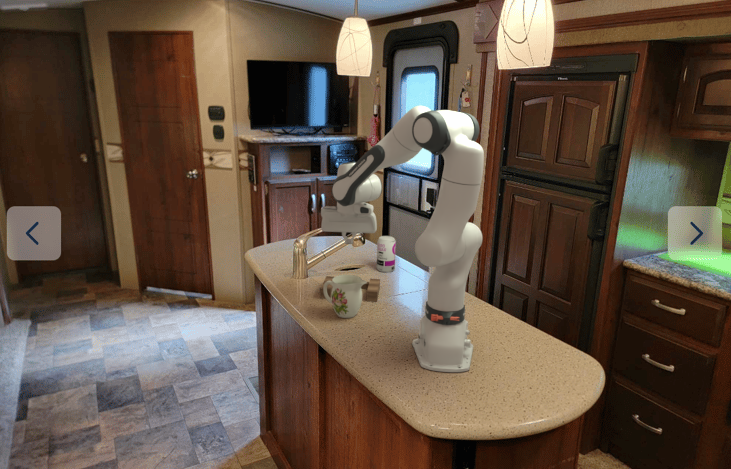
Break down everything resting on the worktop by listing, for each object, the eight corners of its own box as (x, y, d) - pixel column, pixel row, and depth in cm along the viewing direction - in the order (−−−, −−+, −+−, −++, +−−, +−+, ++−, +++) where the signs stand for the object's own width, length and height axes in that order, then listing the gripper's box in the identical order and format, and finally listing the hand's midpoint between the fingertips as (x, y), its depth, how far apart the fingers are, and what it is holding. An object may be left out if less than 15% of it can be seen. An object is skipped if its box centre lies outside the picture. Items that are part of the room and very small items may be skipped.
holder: (377, 301, 184) (377, 292, 183) (320, 298, 186) (320, 288, 185) (379, 288, 198) (380, 279, 197) (326, 285, 200) (326, 276, 199)
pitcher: (332, 302, 183) (332, 268, 179) (373, 314, 174) (374, 278, 170) (314, 312, 174) (314, 276, 170) (357, 325, 164) (357, 287, 161)
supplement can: (396, 267, 223) (397, 236, 219) (392, 273, 215) (394, 241, 211) (378, 266, 225) (379, 234, 221) (375, 271, 217) (375, 239, 213)
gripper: (319, 207, 173) (319, 244, 176) (376, 209, 171) (375, 247, 174) (322, 204, 179) (322, 240, 182) (377, 206, 177) (376, 242, 181)
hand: (349, 243), depth 178 cm, fingers closed
